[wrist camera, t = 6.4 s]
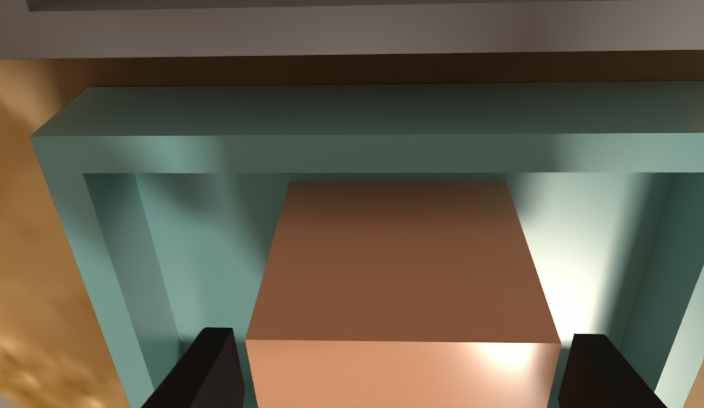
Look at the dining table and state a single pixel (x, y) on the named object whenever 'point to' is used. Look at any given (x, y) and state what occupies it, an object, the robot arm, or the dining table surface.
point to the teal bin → (383, 165)
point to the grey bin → (341, 27)
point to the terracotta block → (401, 300)
